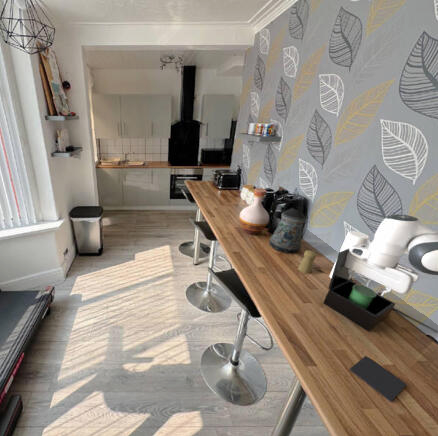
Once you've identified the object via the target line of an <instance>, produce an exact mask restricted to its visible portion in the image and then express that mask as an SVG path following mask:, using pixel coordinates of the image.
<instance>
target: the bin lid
mask: <svg viewBox="0 0 438 436" xmlns="http://www.w3.org/2000/svg"><path fill="white" fill-rule="evenodd" d="M349 249H350V248H348V249H346V250H344V251H341V252H340V251H339V252H338V255H337V257H338V258H337V257H336V259H337V261H336V260H335V262H336V264H335V263H334V264H335V268H334V271H333V274H332V278H330V282H329V284H328V290H330V289H332V288H334V287H336V286H338V285H340V284H342V283H344V282H346V281H348V280H349V279H348V278H349V276H350V275H349V272H348V270H349V268H347V267H344V265H345V262H346V258H347V253H348V252H349Z"/></svg>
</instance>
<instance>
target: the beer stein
mask: <svg viewBox="0 0 438 436" xmlns="http://www.w3.org/2000/svg"><path fill="white" fill-rule="evenodd" d="M306 221H307V216H305V214H304V213H303V212H302V210H301V208H300V207H299V206H292V207H291V208H289V209H286V210H284V211H283V212H281V218H280V220H279V222H278V224H277V226H276V229H275V230H274V232H273V233H272V235H271V236H270V237H269V246H270V247H271V248H272V249H274V250H276V251H278V252H280V253H283V254H291V255H295V254H298V252H299V251H300V249H301V248H302V243H301V239H302V234H303V227H304V223H305V222H306Z"/></svg>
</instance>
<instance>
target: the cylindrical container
mask: <svg viewBox="0 0 438 436" xmlns="http://www.w3.org/2000/svg"><path fill="white" fill-rule="evenodd" d="M369 238H370V235H367V234H366V233H364V232H360V231H357V230H349V231H348V232H347V235H345V238H344V241H343V243H342V246H341V248H340V251H339V252H341V251H344V250H346V249H348V248H350V247H352V246H354V245H357V244H364V245H367V243H368V241H369ZM337 258H338V256H337V257H336V260H335V262H334V264H333V266H332V269H331V271H330V273H329V278H330V279H331V278H332V274H333V271H334V268H335V264H336V261H337Z"/></svg>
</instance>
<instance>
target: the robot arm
mask: <svg viewBox="0 0 438 436" xmlns="http://www.w3.org/2000/svg"><path fill="white" fill-rule="evenodd" d="M404 255H408V256H407V259H408V263H409V264H410V265H411V266H412V268H410V267H408V266H405V265H403V264H402V263H401V264H400V263H399V262H400V261H401V259H402V257H403V256H404ZM344 267H347V268H349V270H348V272H349V275H350V276H349V278H348V279H349V280H350V281H352V282H355V280H356V278H357V276H356V275H355V273H357V274H359V275H361V276H362V277H364V278H365V277H366V278H367V279H369V280H371V281H373V282H376V283H377V284H380V285H382V286H384V287H385V289H382V288H381V289H380V290H378V292H377V294H378V295H380V296H382V297H384V296H385V295H386V294H387V293H389V292H391V291H394V292H397V293H398V294H401V295H404V294H407V293H409V292H410V291H411V289H412V287H413V285H414V283H416V282H418V280H419V278H420V275H419V273H418V272H421V273H423V274H427V275H431V276H438V231H437V230H434V229H432V228H430V227H429V226H427V225H425V223H422V221H421V220H420V219H419V218H417V217H415V216H412V215H408V214H391V215H388V216H386V217H385V218H383V220H382V221H381V222H380V224H379V225H378V227H377V228H376V230H375V232H374V235H373V239H372V241H371V242H370V243H369V244H366V245H364V244H357V245H354V246H352V247H350V249H349V252H348V253H347V258H346V262H345V265H344ZM413 268H414V269H415V270H414V269H413ZM416 270H417V271H418V272H417V271H416ZM354 272H355V273H354Z"/></svg>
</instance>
